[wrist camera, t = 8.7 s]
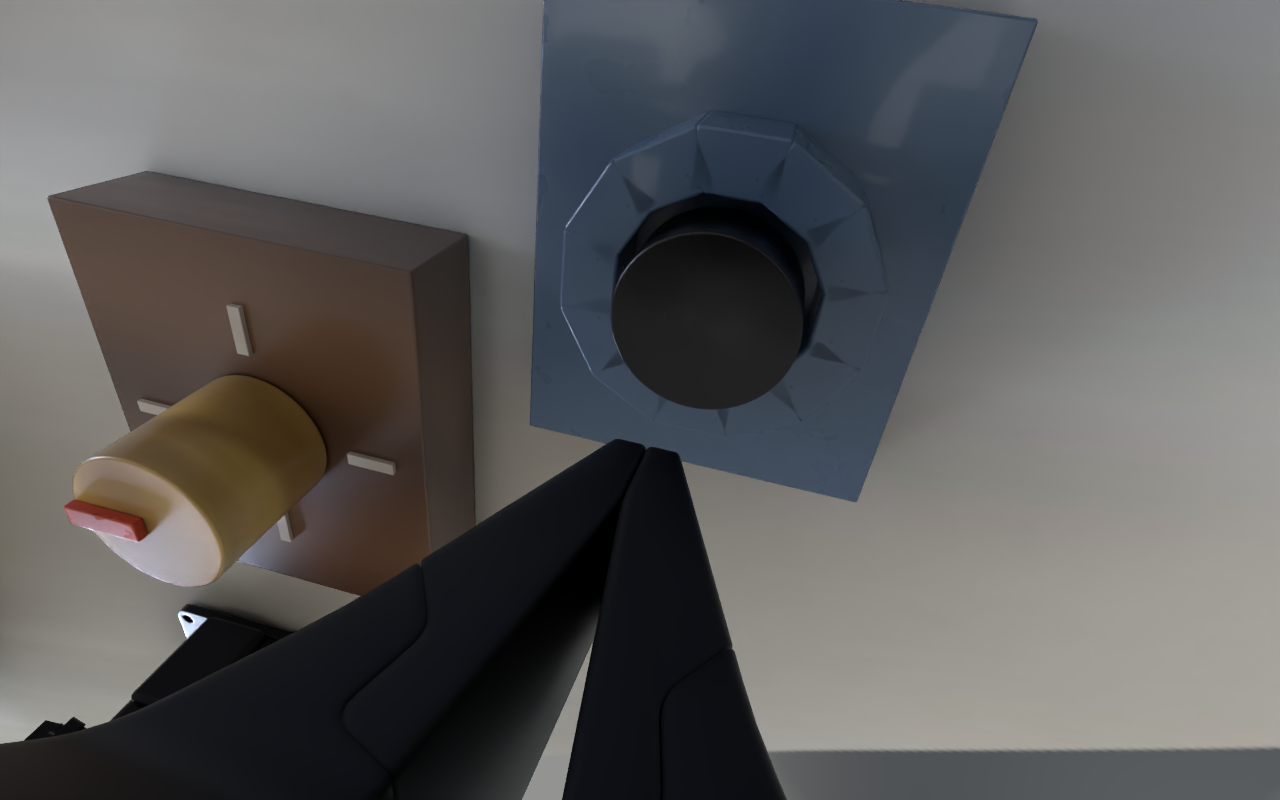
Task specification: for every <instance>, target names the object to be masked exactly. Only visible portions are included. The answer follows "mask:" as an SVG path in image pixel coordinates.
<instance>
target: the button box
mask: <svg viewBox="0 0 1280 800" xmlns="http://www.w3.org/2000/svg"><path fill="white" fill-rule="evenodd" d="M1037 23H1038V20H1037V19H1035V18H1028V17H1020V16H1013V15H1005V14H998V13H990V12H983V11H975V10H968V9H960V8H953V7H945V6H938V5H930V4H923V3H915V2H908V1H901V0H544V1H543V32H542V63H541V94H540V126H539V157H538V188H537V219H536V250H535V282H534V313H533V344H532V375H531V406H530V425H531V426H535V427H539V428H544V429H548V430H552V431H556V432H561V433H565V434H569V435H573V436H577V437H582V438H586V439H590V440H594V441H599V442H603V443H609V442H611V441H612V440H614V439H622V440H627V441H631V442H635V443H639V444H643V445H644V446H645V448H646V449H647V448H649V447H656V448H661V449H665V450H669V451H674V452H677V453H678V454H679V456H680V459H681V461H683V462H687V463H692V464H696V465H700V466H704V467H708V468H713V469H717V470H721V471H725V472H730V473H734V474H738V475H742V476H747V477H751V478H755V479H759V480H763V481H768V482H772V483H776V484H780V485H785V486H789V487H793V488H797V489H801V490H806V491H810V492H814V493H818V494H823V495H827V496H831V497H835V498H840V499H844V500H848V501H852V502H857V500H858V498H859V495H860V493H861V490H862V487H863V485H864V482H865V479H866V477H867V474H868V471H869V469H870V466H871V463H872V461H873V458H874V455H875V453H876V450H877V447H878V445H879V442H880V439H881V437H882V434H883V432H884V429H885V426H886V424H887V421H888V418H889V416H890V413H891V410H892V408H893V405H894V402H895V400H896V397H897V394H898V392H899V389H900V386H901V384H902V381H903V378H904V376H905V373H906V371H907V368H908V365H909V363H910V360H911V357H912V355H913V352H914V349H915V347H916V344H917V341H918V339H919V336H920V333H921V331H922V328H923V325H924V323H925V320H926V317H927V315H928V312H929V310H930V307H931V304H932V302H933V299H934V296H935V294H936V291H937V288H938V286H939V283H940V280H941V278H942V275H943V272H944V270H945V267H946V264H947V262H948V259H949V256H950V254H951V251H952V249H953V246H954V243H955V241H956V238H957V235H958V233H959V230H960V227H961V225H962V222H963V219H964V217H965V214H966V211H967V209H968V206H969V203H970V201H971V198H972V195H973V193H974V190H975V188H976V185H977V182H978V180H979V177H980V174H981V172H982V169H983V166H984V164H985V161H986V158H987V156H988V153H989V150H990V148H991V145H992V142H993V140H994V137H995V134H996V132H997V129H998V127H999V124H1000V121H1001V119H1002V116H1003V113H1004V111H1005V108H1006V105H1007V103H1008V100H1009V97H1010V95H1011V92H1012V89H1013V87H1014V84H1015V81H1016V79H1017V76H1018V73H1019V71H1020V68H1021V66H1022V63H1023V60H1024V58H1025V55H1026V52H1027V50H1028V47H1029V44H1030V42H1031V39H1032V36H1033V34H1034V31H1035V28H1036V26H1037ZM712 206H721V207H730V208H735V209H739V210H743V211H746V212H748V213H751V214H753V215H756V216H757V217H759V218H761V219H763V220H765V221H766V222H768V223H769V224H770V225H772V226H773V227H774V228H776V229H777V230H778V231H779V232H780V233H781V234H782V235H783V236H784V237H785V239H786V240H787V241H788V243H789V244H790V245H791V247H792V248H793V250H794V252H795V254H796V255H797V257H798V260H799V262H800V265H801V267H802V271H803V276H804V282H805V304H804V319H803V333H802V339H801V344H800V348H799V351H798V354H797V357H796V359H795V361H794V363H793V364H792V366H791V368H790V370H789V371H788V372H787V374H786V375H785V376H784V378H783V379H782V380H781V381H780V382H779V383H778V384H777V385H776V386H775V387H773V388H772V389H771V390H770V391H768V392H767V393H766V394H764V395H762V396H761V397H759V398H757V399H755V400H753V401H751V402H749V403H746V404H743V405H740V406H737V407H732V408H727V409H717V410H706V409H696V408H690V407H686V406H682V405H679V404H676V403H674V402H671V401H669V400H666V399H664V398H663V397H661V396H659V395H657V394H655V393H654V392H653V391H651V390H650V389H648V388H647V387H646V386H645V385H643V384H642V383H641V382H640V381H639V380H638V379H637V378H636V377H635V376H634V375H633V374H632V372H631V371H630V370H629V368H628V367H627V366H626V364H625V363H624V361H623V359H622V357H621V356H620V354H619V352H618V349H617V347H616V344H615V341H614V338H613V333H612V329H611V320H610V315H611V303H612V297H613V293H614V290H615V287H616V284H617V282H618V280H619V278H620V276H621V274H622V273H623V271H624V270H625V268H626V267H627V265H628V264H629V263H630V261H631V260H632V259H633V257H634V256H635V254H636V253H637V252H638V250H639V249H640V248H641V246H642V245H643V244H644V242H645V241H646V240H647V238H648V237H649V236H650V235H651V234H652V233H653V232H654V231H655V230H656V229H657V228H658V227H659V226H660V225H662V224H663V223H664V222H666V221H667V220H669V219H670V218H672V217H674V216H676V215H678V214H680V213H683V212H685V211H689V210H692V209H695V208H702V207H712Z"/></svg>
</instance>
